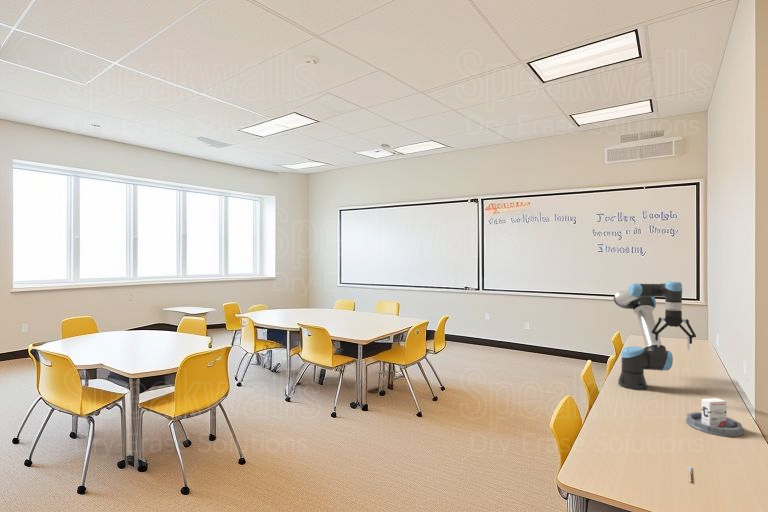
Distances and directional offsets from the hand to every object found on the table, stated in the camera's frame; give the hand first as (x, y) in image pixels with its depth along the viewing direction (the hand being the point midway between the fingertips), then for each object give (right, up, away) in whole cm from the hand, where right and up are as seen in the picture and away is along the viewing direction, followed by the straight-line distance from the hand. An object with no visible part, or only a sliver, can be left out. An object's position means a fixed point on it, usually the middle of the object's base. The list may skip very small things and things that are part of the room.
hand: (673, 348), depth 232 cm
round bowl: (-5, -29, -35) cm, 46 cm away
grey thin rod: (-47, -31, -77) cm, 95 cm away
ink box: (-5, -28, -35) cm, 46 cm away
